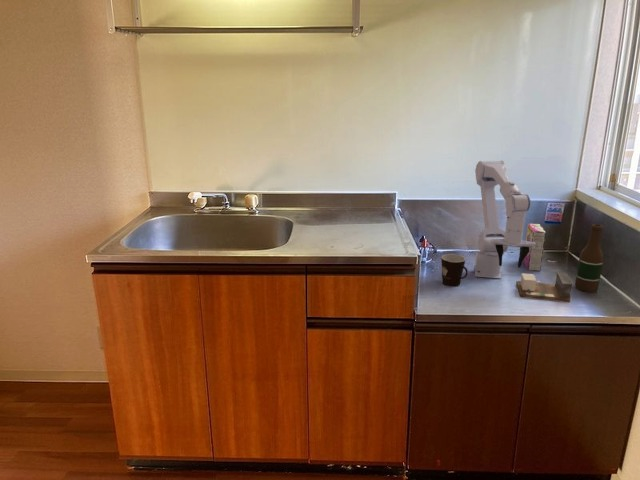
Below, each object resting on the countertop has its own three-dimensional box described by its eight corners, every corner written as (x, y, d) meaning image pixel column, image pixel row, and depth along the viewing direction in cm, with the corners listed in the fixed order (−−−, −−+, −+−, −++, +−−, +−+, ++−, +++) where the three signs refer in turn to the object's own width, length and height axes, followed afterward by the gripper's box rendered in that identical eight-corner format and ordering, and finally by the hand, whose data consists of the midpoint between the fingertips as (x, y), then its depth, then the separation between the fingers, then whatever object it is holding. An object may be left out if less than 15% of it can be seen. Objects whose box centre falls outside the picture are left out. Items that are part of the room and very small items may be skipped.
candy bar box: (522, 260, 204) (527, 223, 199) (534, 261, 203) (540, 223, 198) (527, 270, 194) (533, 231, 189) (540, 271, 193) (546, 231, 188)
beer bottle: (578, 282, 183) (589, 220, 175) (601, 288, 177) (613, 225, 170) (570, 288, 177) (581, 225, 170) (593, 294, 172) (606, 229, 165)
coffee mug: (437, 278, 186) (439, 253, 183) (459, 278, 186) (462, 254, 183) (443, 291, 175) (445, 265, 172) (467, 291, 175) (470, 265, 172)
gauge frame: (519, 297, 170) (522, 280, 168) (516, 283, 181) (518, 268, 179) (570, 302, 167) (572, 285, 165) (563, 288, 178) (565, 272, 176)
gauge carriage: (523, 293, 170) (525, 282, 169) (520, 283, 178) (521, 273, 177) (542, 295, 168) (543, 284, 167) (538, 285, 176) (539, 274, 175)
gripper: (493, 230, 167) (488, 267, 171) (538, 234, 163) (533, 271, 168) (491, 225, 173) (487, 260, 178) (535, 228, 170) (530, 264, 174)
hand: (509, 265), depth 173 cm, fingers open, 6 cm apart
